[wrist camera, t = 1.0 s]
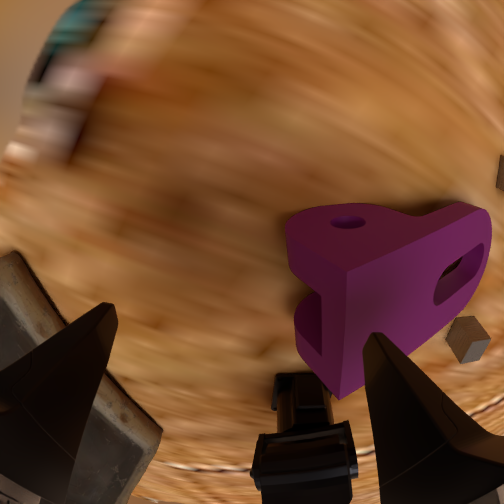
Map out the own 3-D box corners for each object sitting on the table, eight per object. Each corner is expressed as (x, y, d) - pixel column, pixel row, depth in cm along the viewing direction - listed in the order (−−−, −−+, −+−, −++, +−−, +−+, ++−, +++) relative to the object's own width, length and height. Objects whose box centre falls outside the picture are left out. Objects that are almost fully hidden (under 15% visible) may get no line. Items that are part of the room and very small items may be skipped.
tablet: (183, 430, 35) (151, 584, 12) (120, 434, 38) (81, 555, 16) (16, 238, 23) (-139, 394, 1) (-20, 281, 26) (-122, 397, 4)
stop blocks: (464, 337, 26) (479, 360, 22) (445, 339, 26) (460, 364, 22) (518, 162, 17) (546, 172, 14) (500, 155, 17) (530, 165, 14)
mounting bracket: (425, 179, 25) (263, 220, 19) (497, 199, 18) (346, 270, 12) (419, 263, 29) (277, 331, 23) (479, 294, 22) (338, 400, 16)
